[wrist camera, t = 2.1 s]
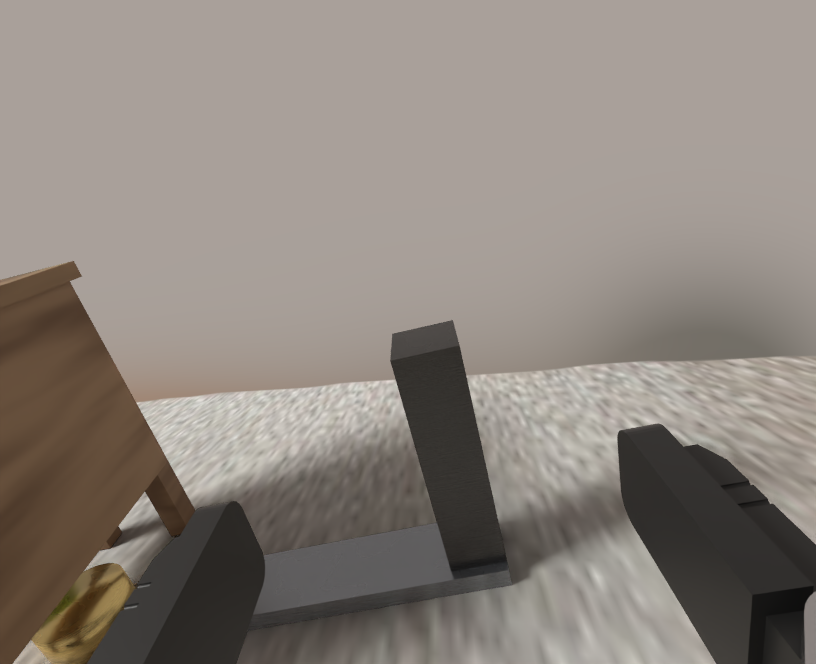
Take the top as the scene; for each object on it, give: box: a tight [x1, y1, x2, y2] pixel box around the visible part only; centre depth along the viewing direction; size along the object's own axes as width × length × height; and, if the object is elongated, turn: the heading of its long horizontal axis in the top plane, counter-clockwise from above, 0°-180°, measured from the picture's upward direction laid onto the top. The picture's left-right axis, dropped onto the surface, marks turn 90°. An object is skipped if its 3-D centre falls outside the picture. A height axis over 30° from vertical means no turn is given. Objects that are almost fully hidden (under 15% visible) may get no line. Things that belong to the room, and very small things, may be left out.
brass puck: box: [31, 563, 136, 664], centre depth 27 cm, size 5×5×2 cm
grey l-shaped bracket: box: [247, 321, 512, 631], centre depth 24 cm, size 21×4×14 cm, turn 90°
